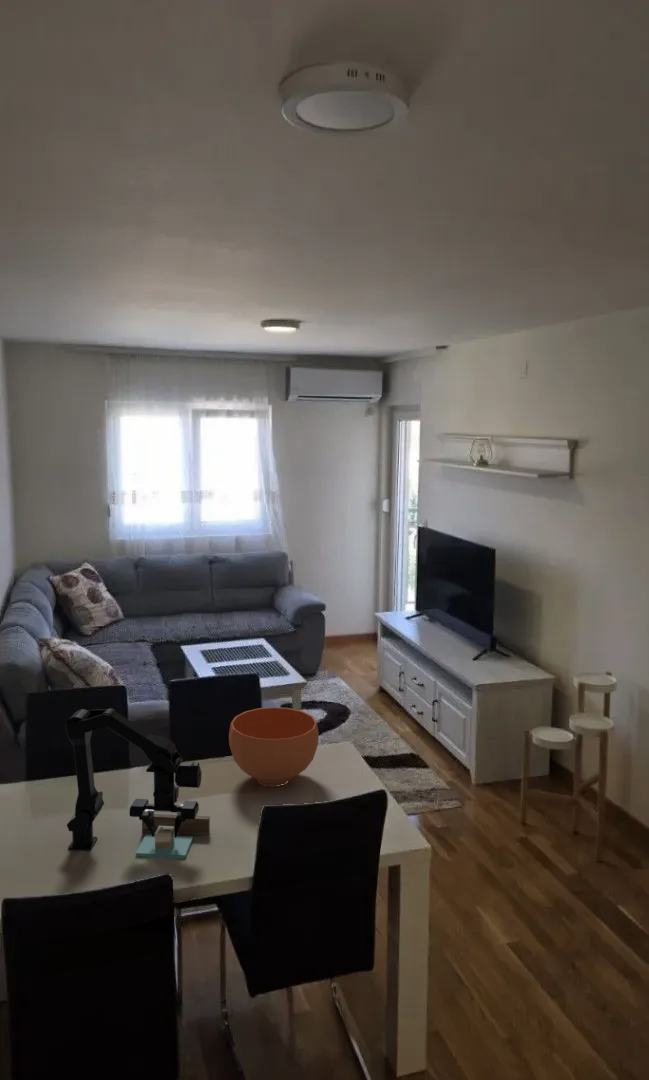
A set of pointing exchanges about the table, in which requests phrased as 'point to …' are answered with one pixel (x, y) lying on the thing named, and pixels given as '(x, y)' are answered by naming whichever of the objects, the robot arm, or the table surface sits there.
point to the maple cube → (164, 837)
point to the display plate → (177, 850)
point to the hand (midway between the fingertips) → (164, 836)
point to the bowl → (273, 743)
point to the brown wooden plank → (182, 824)
